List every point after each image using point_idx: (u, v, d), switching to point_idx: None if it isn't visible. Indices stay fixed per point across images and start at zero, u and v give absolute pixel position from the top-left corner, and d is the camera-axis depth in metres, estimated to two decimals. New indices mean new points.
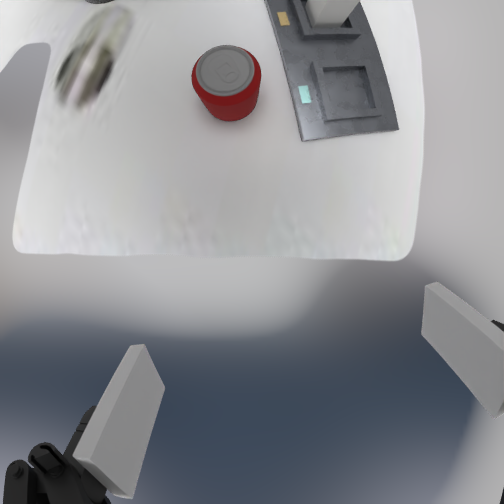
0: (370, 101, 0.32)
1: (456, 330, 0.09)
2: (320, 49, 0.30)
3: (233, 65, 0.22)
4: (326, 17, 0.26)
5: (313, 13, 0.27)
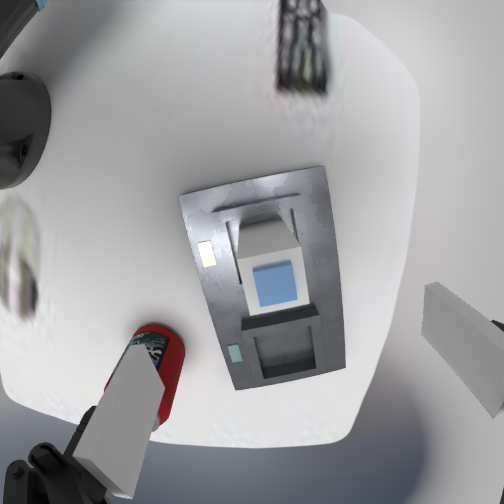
0: (313, 354, 0.31)
1: (456, 330, 0.09)
2: None
3: None
4: None
5: None
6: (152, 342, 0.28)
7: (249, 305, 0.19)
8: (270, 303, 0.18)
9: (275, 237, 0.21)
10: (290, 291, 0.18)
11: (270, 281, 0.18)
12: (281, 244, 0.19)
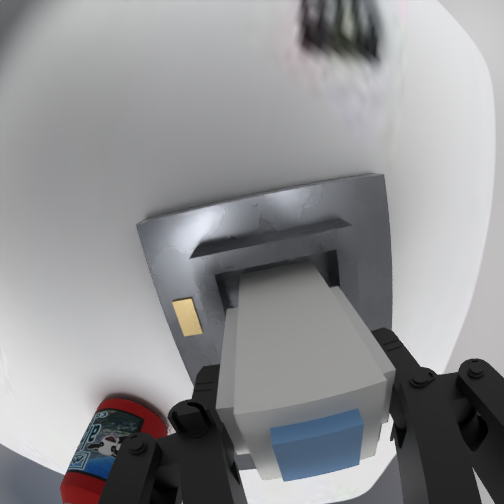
0: None
1: None
2: None
3: None
4: None
5: None
6: (118, 429, 0.17)
7: (261, 470, 0.07)
8: (304, 476, 0.07)
9: (315, 329, 0.09)
10: (348, 458, 0.07)
11: (310, 452, 0.06)
12: (336, 362, 0.08)
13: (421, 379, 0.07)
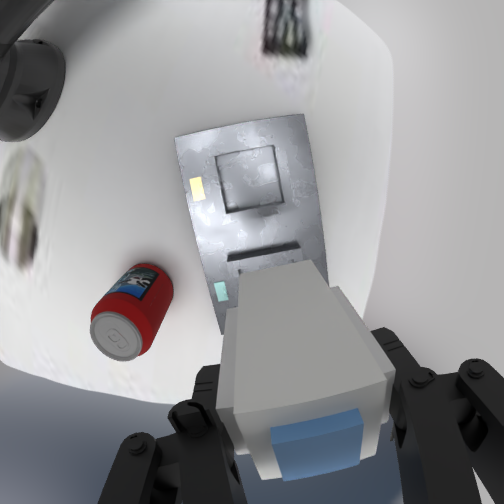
0: None
1: None
2: (242, 232, 0.32)
3: (121, 334, 0.24)
4: None
5: None
6: (142, 274, 0.30)
7: (261, 470, 0.07)
8: (304, 475, 0.07)
9: (315, 328, 0.09)
10: (348, 458, 0.07)
11: (310, 451, 0.06)
12: (336, 361, 0.08)
13: (421, 379, 0.07)
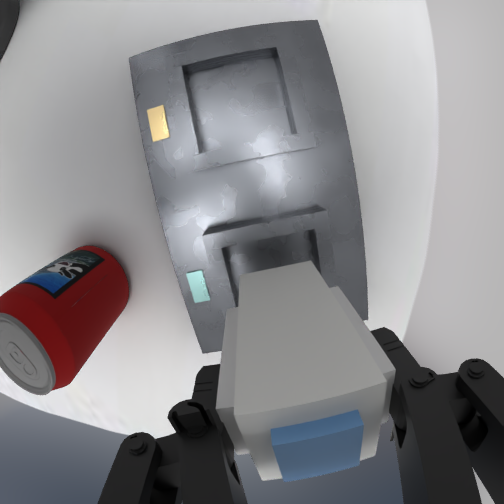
0: None
1: None
2: (229, 188, 0.19)
3: (23, 352, 0.11)
4: None
5: None
6: (75, 258, 0.18)
7: (261, 471, 0.07)
8: (305, 476, 0.07)
9: (315, 330, 0.09)
10: (348, 459, 0.07)
11: (310, 453, 0.06)
12: (336, 363, 0.08)
13: (421, 379, 0.07)
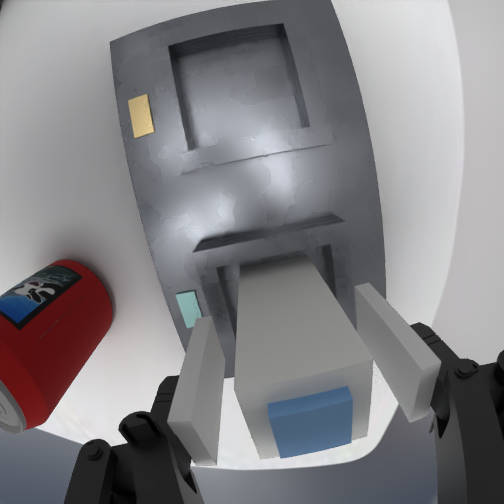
0: None
1: (377, 330, 0.11)
2: (226, 193, 0.16)
3: None
4: None
5: None
6: (47, 277, 0.14)
7: (259, 448, 0.08)
8: (300, 453, 0.08)
9: (309, 315, 0.10)
10: (340, 435, 0.07)
11: (304, 427, 0.07)
12: (327, 343, 0.09)
13: (466, 370, 0.06)
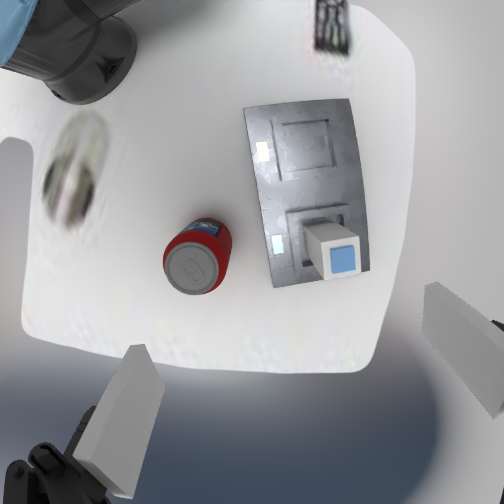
0: None
1: (456, 330, 0.09)
2: (299, 190, 0.36)
3: (198, 264, 0.28)
4: None
5: (308, 249, 0.36)
6: (209, 222, 0.34)
7: (325, 273, 0.28)
8: (339, 271, 0.28)
9: (338, 231, 0.31)
10: (352, 264, 0.28)
11: (341, 256, 0.27)
12: (345, 235, 0.29)
13: None
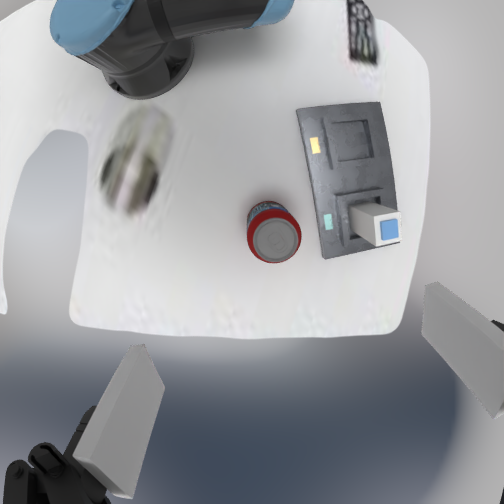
0: None
1: (456, 330, 0.09)
2: (344, 177, 0.42)
3: (282, 236, 0.34)
4: None
5: (355, 224, 0.42)
6: (276, 204, 0.41)
7: (376, 240, 0.35)
8: (387, 238, 0.34)
9: (381, 209, 0.37)
10: (396, 232, 0.34)
11: (388, 227, 0.34)
12: (388, 211, 0.35)
13: None
